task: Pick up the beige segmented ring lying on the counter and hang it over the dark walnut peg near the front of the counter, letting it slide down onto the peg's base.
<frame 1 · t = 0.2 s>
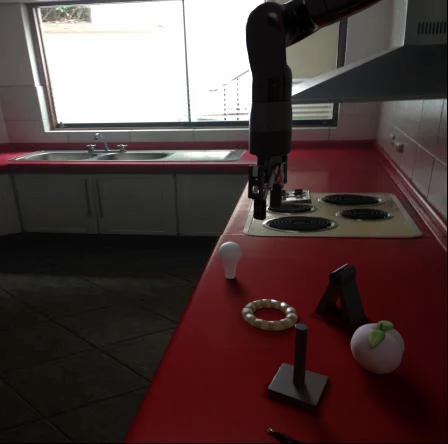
hand: (268, 213, 80), 27 cm above the counter, tool pointing down, fingers open, 8 cm apart
lightbulb: (230, 281, 113), on the counter
beige segmented ring: (269, 315, 93), point 1 cm above the counter
phone stand: (339, 318, 92), on the counter
tape post: (298, 389, 72), on the counter
decorative fruit: (373, 372, 75), on the counter
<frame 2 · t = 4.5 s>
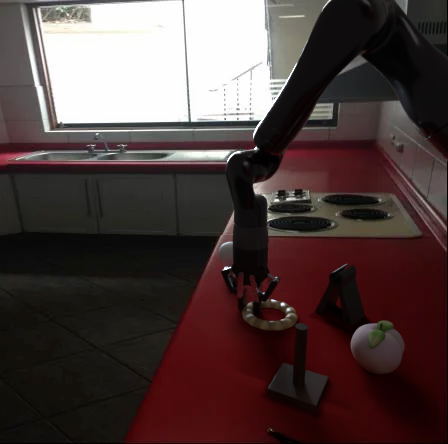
hand: (249, 312, 95), 1 cm above the counter, tool pointing down, fingers closed on beige segmented ring, 2 cm apart
beige segmented ring: (269, 315, 93), point 1 cm above the counter, touching gripper
everything else where it was.
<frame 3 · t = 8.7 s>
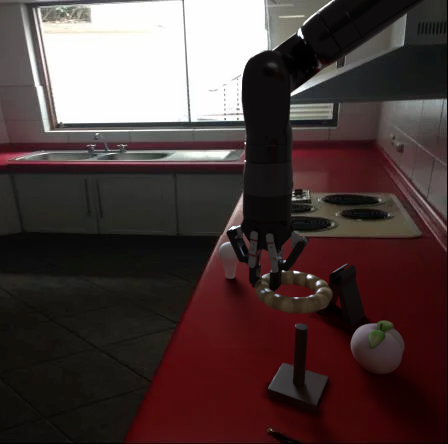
hand: (265, 287, 70), 18 cm above the counter, tool pointing down, fingers closed on beige segmented ring, 2 cm apart
beige segmented ring: (292, 290, 68), point 18 cm above the counter, touching gripper
everything else where it was.
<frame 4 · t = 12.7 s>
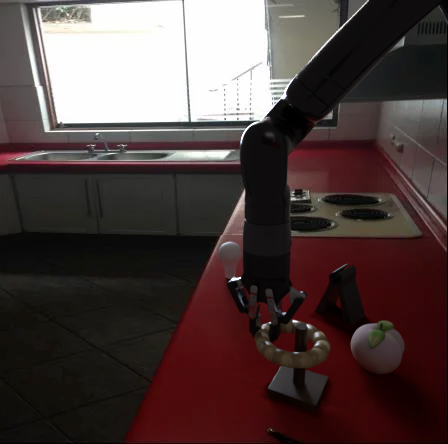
hand: (264, 337, 73), 8 cm above the counter, tool pointing down, fingers closed on beige segmented ring, 2 cm apart
beige segmented ring: (291, 342, 70), point 9 cm above the counter, touching gripper
everything else where it was.
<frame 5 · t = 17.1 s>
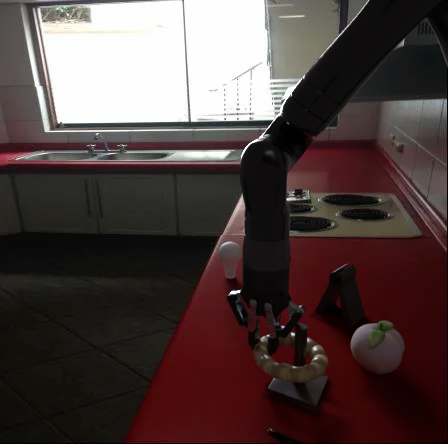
hand: (263, 350, 73), 6 cm above the counter, tool pointing down, fingers closed on beige segmented ring, 2 cm apart
beige segmented ring: (289, 355, 71), point 6 cm above the counter, touching gripper
everything else where it was.
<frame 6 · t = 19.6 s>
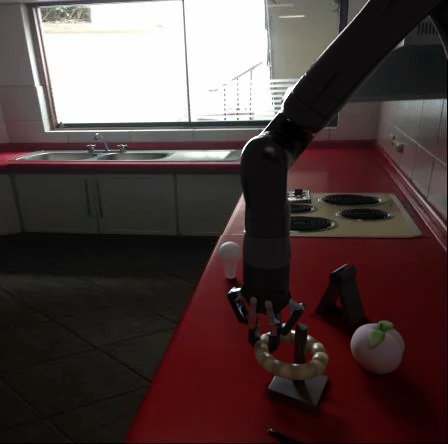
hand: (263, 347, 73), 6 cm above the counter, tool pointing down, fingers closed on beige segmented ring, 2 cm apart
beige segmented ring: (290, 353, 70), point 7 cm above the counter, touching gripper
everything else where it was.
when the fingers open (9 cm above the counter, at t = 21.0 s): beige segmented ring drops 7 cm, resting on tape post.
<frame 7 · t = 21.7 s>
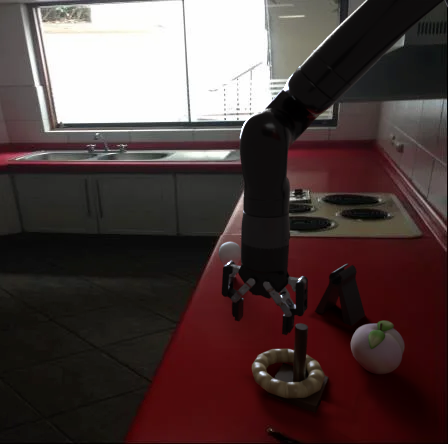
hand: (261, 325, 72), 11 cm above the counter, tool pointing down, fingers open, 8 cm apart
beige segmented ring: (287, 371, 72), point 3 cm above the counter, touching tape post
everything else where it was.
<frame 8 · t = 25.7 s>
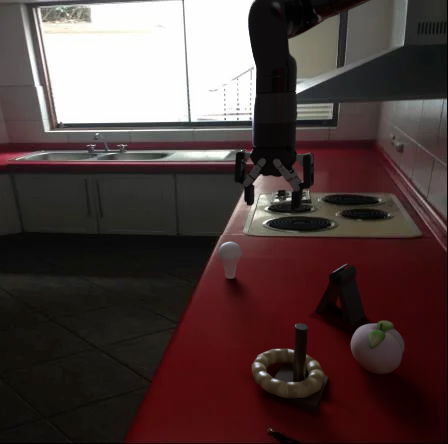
hand: (271, 207, 79), 28 cm above the counter, tool pointing down, fingers open, 8 cm apart
nothing on the counter moved.
at the end: beige segmented ring 2.1 cm from the tape post (horizontally); beige segmented ring point 2.7 cm above the counter; the gripper is holding nothing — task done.
